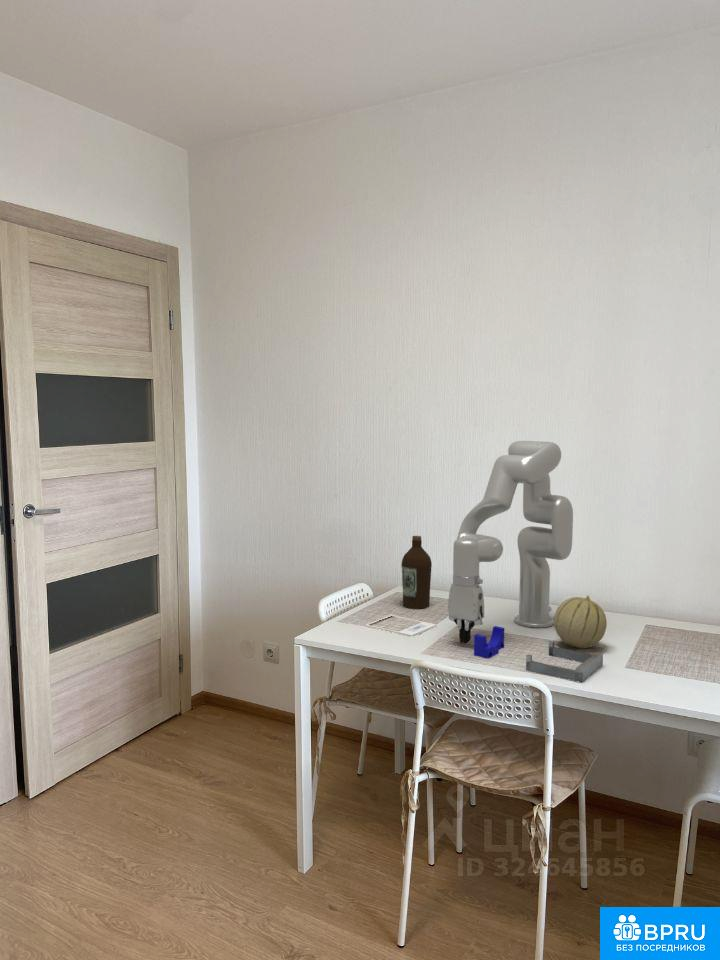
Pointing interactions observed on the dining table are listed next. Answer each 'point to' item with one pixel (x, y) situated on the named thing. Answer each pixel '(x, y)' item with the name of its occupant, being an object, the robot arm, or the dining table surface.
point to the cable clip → (489, 643)
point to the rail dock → (579, 674)
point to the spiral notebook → (411, 630)
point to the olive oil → (416, 576)
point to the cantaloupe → (580, 622)
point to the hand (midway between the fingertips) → (464, 642)
